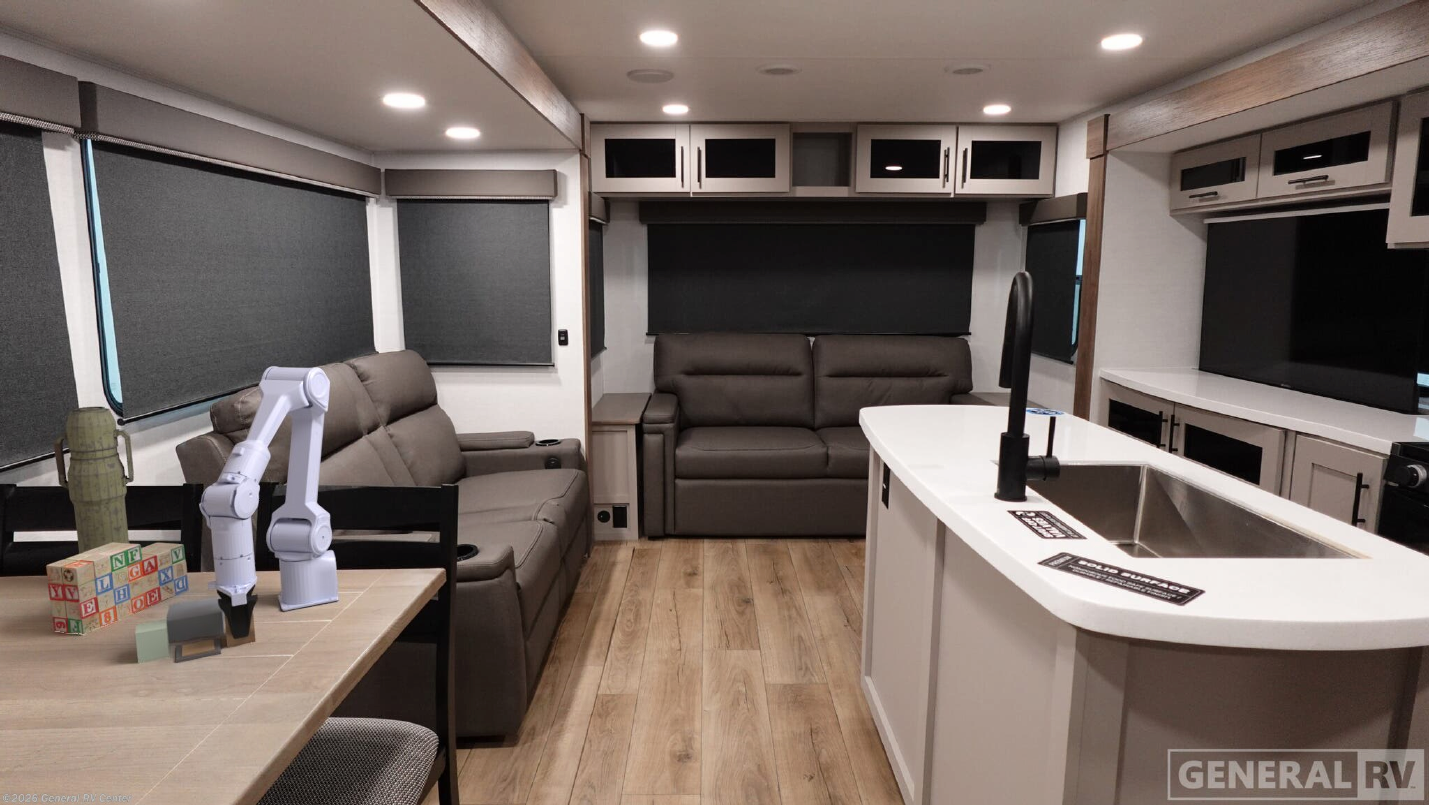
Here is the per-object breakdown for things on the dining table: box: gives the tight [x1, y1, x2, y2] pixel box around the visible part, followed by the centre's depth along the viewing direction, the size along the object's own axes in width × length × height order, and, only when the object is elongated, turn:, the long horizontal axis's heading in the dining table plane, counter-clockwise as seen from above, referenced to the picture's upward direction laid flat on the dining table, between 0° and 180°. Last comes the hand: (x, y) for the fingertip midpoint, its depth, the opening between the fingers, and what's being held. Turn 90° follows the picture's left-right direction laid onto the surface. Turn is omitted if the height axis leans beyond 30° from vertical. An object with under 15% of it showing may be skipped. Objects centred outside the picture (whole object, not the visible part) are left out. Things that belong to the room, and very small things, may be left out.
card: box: [175, 637, 222, 664], centre depth 130 cm, size 6×6×1 cm
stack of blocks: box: [45, 542, 189, 634], centre depth 145 cm, size 21×6×12 cm, turn 168°
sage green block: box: [134, 618, 170, 664], centre depth 128 cm, size 4×4×5 cm
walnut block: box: [224, 611, 257, 648], centre depth 134 cm, size 4×4×5 cm
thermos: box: [52, 406, 135, 554], centre depth 156 cm, size 9×12×35 cm
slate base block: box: [165, 596, 225, 643], centre depth 138 cm, size 8×8×4 cm
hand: (240, 632), depth 134 cm, fingers open, 4 cm apart
